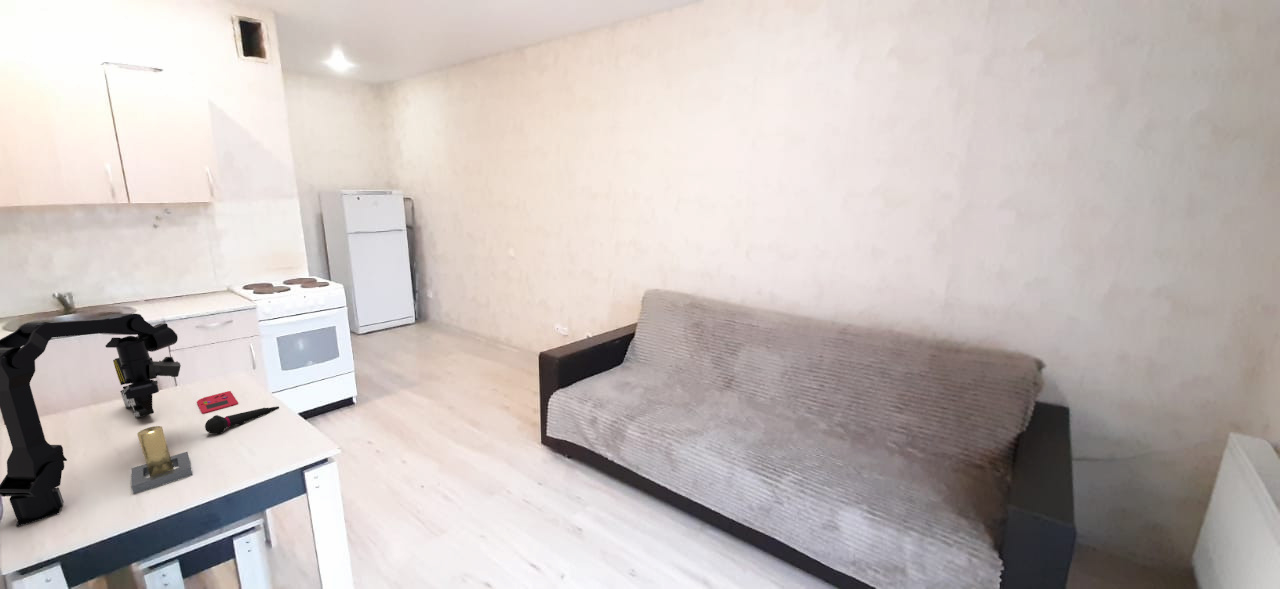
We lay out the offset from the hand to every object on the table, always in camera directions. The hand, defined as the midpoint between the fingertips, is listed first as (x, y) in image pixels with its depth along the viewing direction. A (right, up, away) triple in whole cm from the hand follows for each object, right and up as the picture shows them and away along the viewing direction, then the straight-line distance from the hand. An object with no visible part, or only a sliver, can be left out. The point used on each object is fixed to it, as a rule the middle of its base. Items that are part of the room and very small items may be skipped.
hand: (149, 409), depth 141 cm
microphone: (+14, -8, +17) cm, 23 cm away
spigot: (+14, -15, -10) cm, 22 cm away
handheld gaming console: (-7, -5, +31) cm, 33 cm away
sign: (-26, -7, +24) cm, 36 cm away
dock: (+14, -15, -10) cm, 22 cm away
